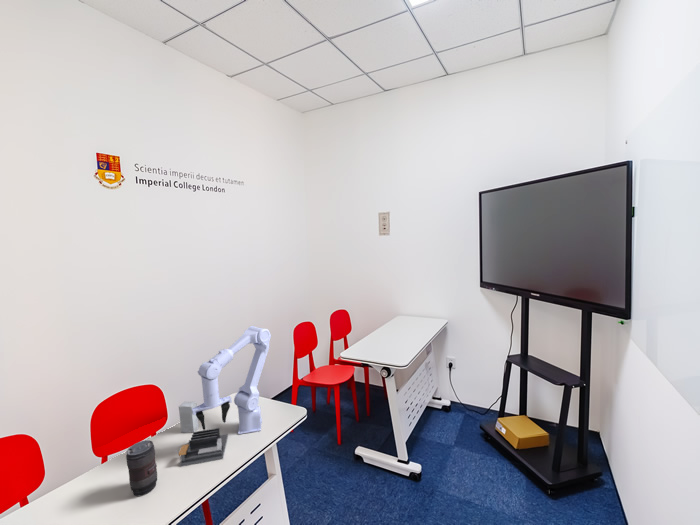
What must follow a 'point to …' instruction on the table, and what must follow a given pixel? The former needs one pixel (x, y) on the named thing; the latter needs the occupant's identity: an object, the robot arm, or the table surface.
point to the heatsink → (202, 447)
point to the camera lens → (142, 467)
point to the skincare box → (188, 417)
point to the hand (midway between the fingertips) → (214, 424)
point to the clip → (211, 448)
